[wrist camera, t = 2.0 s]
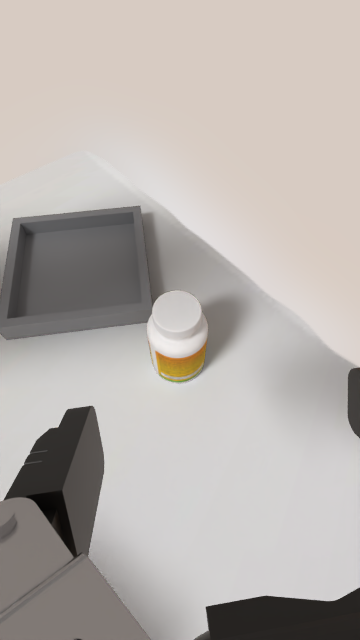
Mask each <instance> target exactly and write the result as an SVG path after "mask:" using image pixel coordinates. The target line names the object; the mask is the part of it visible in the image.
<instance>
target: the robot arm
mask: <svg viewBox="0 0 360 640" xmlns="http://www.w3.org/2000/svg"><path fill="white" fill-rule="evenodd" d="M348 419H349V423H350V426H351V428H352V430H353V431H354V433H355V434H356V435H357V436H358V437H359V438H360V368H354V369H351V370H350V372H349V375H348ZM103 474H104V454H103V448H102V443H101V437H100V432H99V427H98V422H97V417H96V412H95V409H94V407H93V406H87V407H80V408H73V409H68V410H67V411H66V413H65V415H64V417H63V419H62V421H61V423H60V425H59V427H58V428H51V429H49V430H48V431H47V432H46V433H44V434H43V435H42V436H41V437H40V438H39V439H38V440H37V441H36V443H35V444H34V446H33V448H32V450H31V452H30V455H28V457H27V459H26V461H25V462H24V466H22V468H21V470H20V471H19V473H18V475H17V477H16V479H15V480H14V482H13V484H12V486H11V488H10V489H9V491H8V493H7V495H6V497H5V498H4V500H3V501H1V502H0V640H150V638H149V637H148V636H147V634H146V633H145V632H144V630H143V629H142V628H141V626H140V625H139V624H138V622H137V621H136V620H135V618H134V617H133V616H132V614H131V613H130V612H129V610H128V609H127V608H126V606H125V605H124V604H123V602H122V601H121V600H120V598H119V597H118V596H117V594H116V593H115V592H114V591H113V589H112V588H111V587H110V585H109V584H108V583H107V581H106V580H105V579H104V577H103V576H102V575H101V573H100V572H99V571H98V569H97V568H96V567H95V565H94V564H93V563H92V561H91V560H90V559H89V558H88V552H89V547H90V542H91V537H92V532H93V526H94V521H95V516H96V511H97V505H98V500H99V495H100V490H101V485H102V479H103ZM206 612H207V621H208V629H209V631H207V632H205V633H204V634H202V635H200V636H198V637H197V638H195V639H194V640H360V588H358V589H356V590H355V591H353V592H351V593H349V594H347V595H346V596H344V597H342V598H340V599H338V600H336V601H318V600H307V599H296V598H284V597H273V596H261V597H256V598H250V599H245V600H240V601H234V602H229V603H223V604H218V605H212V606H207V607H206Z"/></svg>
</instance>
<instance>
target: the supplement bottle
mask: <svg viewBox="0 0 360 640" xmlns="http://www.w3.org/2000/svg"><path fill="white" fill-rule="evenodd" d="M147 337H148V342H149V348H150V353H151V359H152V364H153V367H154V369H155V371H156V373H157V374H158V375H159V376H160V377H161V378H162V379H164V380H166V381H168V382H171V383H176V384H181V383H186V382H189V381H191V380H193V379H194V378H195V377H197V376H198V374H199V373H200V372H201V370H202V368H203V365H204V360H205V352H206V344H207V337H208V323H207V320H206V317H205V316H204V314H203V313H202V308H201V304H200V302H199V301H198V299H197V298H196V297H195V296H193V295H192V294H190V293H188V292H185V291H181V290H174V291H169V292H166V293H164V294H162V295H161V296H160V297H158V298H157V300H156V301H155V303H154V305H153V308H152V314H151V316H150V318H149V320H148V323H147Z"/></svg>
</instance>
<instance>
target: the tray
mask: <svg viewBox="0 0 360 640" xmlns="http://www.w3.org/2000/svg"><path fill="white" fill-rule="evenodd" d="M152 308H153V307H152V298H151V290H150V282H149V273H148V265H147V257H146V248H145V240H144V232H143V223H142V215H141V208H140V206H133V207H123V208H113V209H103V210H93V211H83V212H73V213H63V214H53V215H43V216H33V217H23V218H13V222H12V228H11V234H10V240H9V247H8V253H7V259H6V265H5V272H4V278H3V284H2V290H1V297H0V334H1V335H2V336H3V337H4V338H5V339H6V340H9V339H17V338H25V337H33V336H41V335H49V334H57V333H65V332H73V331H81V330H89V329H97V328H105V327H113V326H121V325H130V324H138V323H146V322H148V320H149V318H150V316H151V314H152Z"/></svg>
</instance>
